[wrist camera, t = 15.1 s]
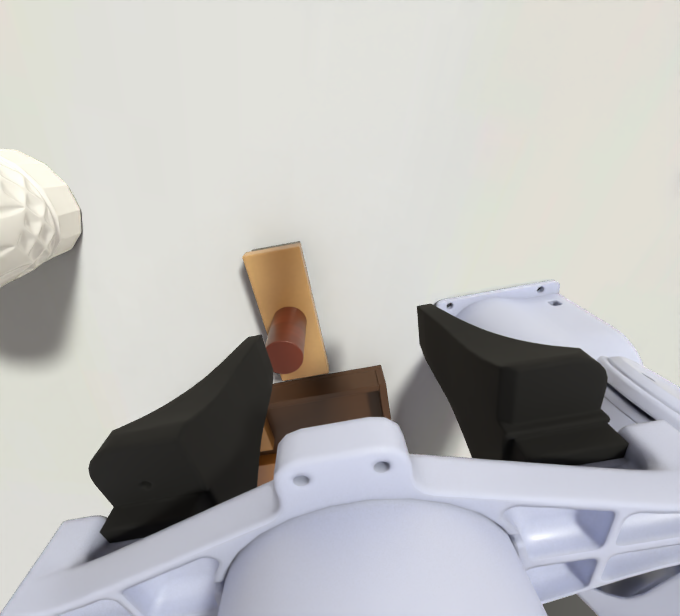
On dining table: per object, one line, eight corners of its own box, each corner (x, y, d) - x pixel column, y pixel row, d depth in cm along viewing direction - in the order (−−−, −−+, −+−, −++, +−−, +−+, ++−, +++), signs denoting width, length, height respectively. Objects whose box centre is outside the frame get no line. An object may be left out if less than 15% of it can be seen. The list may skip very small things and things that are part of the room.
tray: (380, 364, 27) (385, 383, 25) (396, 470, 34) (401, 492, 32) (200, 396, 28) (189, 417, 26) (248, 493, 34) (243, 517, 32)
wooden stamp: (301, 237, 22) (293, 270, 16) (328, 357, 27) (330, 416, 21) (248, 247, 22) (221, 283, 16) (285, 364, 27) (274, 426, 21)
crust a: (263, 408, 28) (261, 418, 27) (275, 439, 30) (273, 450, 29) (220, 415, 29) (216, 426, 27) (234, 445, 30) (231, 456, 29)
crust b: (279, 452, 31) (278, 462, 30) (289, 478, 33) (288, 489, 32) (240, 458, 31) (237, 469, 30) (252, 484, 33) (249, 495, 32)
